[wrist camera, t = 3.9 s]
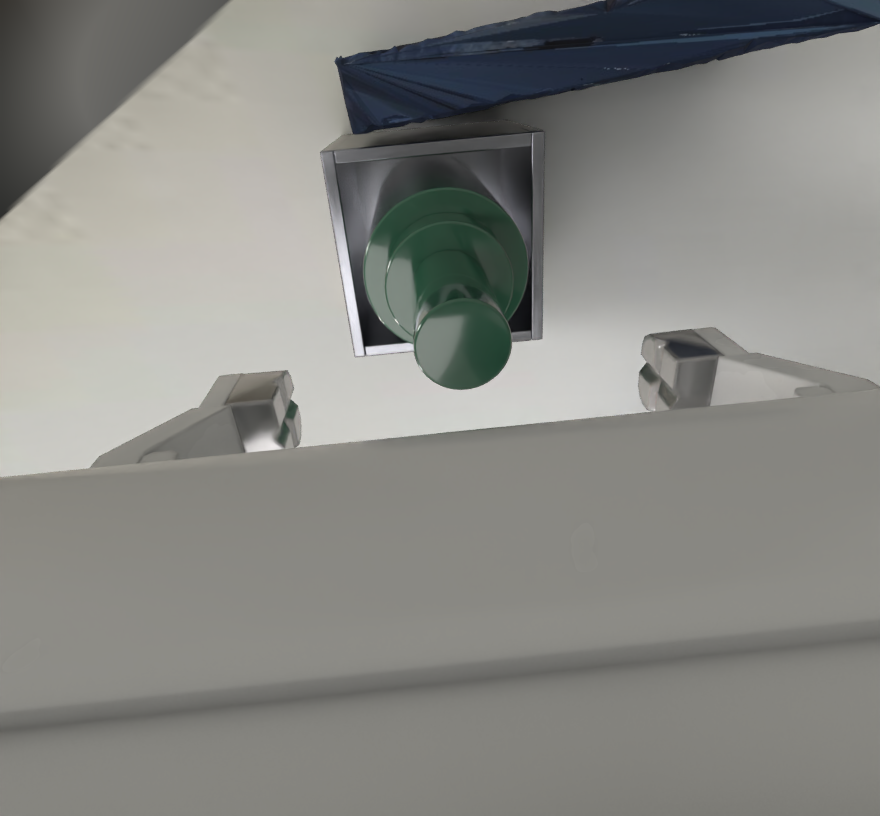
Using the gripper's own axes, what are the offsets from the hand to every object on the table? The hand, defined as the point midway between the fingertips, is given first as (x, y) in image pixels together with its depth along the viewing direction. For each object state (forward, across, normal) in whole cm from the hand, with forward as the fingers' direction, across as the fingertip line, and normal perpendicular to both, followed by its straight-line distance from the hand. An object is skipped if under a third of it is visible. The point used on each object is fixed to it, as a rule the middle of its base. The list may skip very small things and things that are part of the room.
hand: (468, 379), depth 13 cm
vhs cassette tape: (+20, -6, -7) cm, 22 cm away
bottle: (+19, 0, 0) cm, 19 cm away
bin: (+20, 0, 0) cm, 20 cm away
